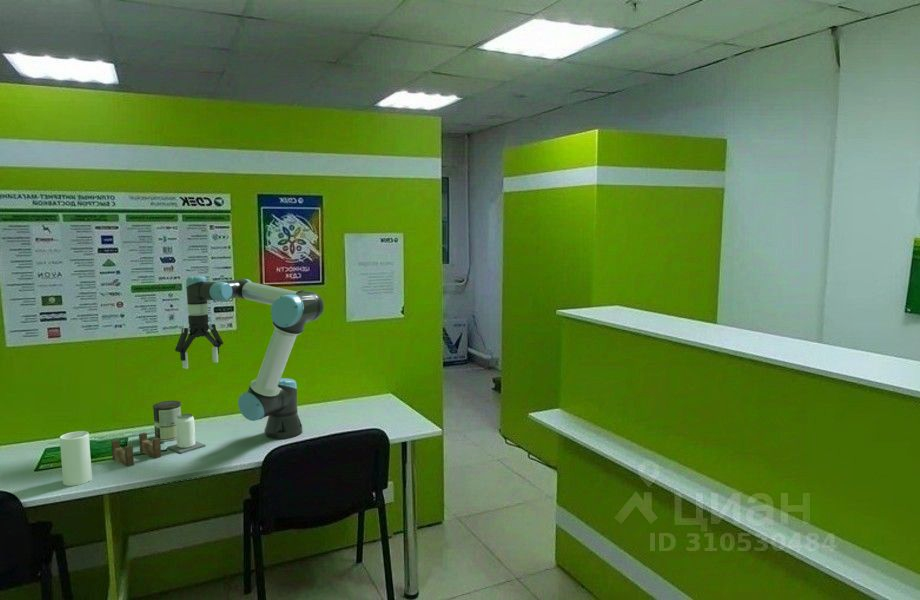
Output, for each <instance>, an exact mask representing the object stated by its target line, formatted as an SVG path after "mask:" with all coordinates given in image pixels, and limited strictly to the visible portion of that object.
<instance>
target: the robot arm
mask: <svg viewBox="0 0 920 600" xmlns="http://www.w3.org/2000/svg"><path fill="white" fill-rule="evenodd" d="M185 284H186V285H185V289H186V299H187V301H186V302H187V314H188V316H187V319H188V327H181V334H180V335H179V336H180V337H179V339H178V341H177V345H176V346H175V349H174V351H175V352H177V353H179V356H180V358H179V359H180V361H182V362H181V363H182V369H186V370H188V369H189V357H188V355H189V354H188V352H187V350H188V349H189V348H190V346H191V344H192V343H193V341H194V340H195V339H196V338H201V337H205V338H206V340H208V341H209V342H210V343H211V344H212V345H213V346H212V347H211V349H212V350H211V351H212V352H211V353H212V363H216V364H217V363H219V354H220V348H221V346H222V345H223V344H224V341H223V339H222V338H221V336H220V334H219V332H218V330H217V327H216V324H215V323H209V314H208V313H209V305H208V304H209V303H208V301H216V302H223V301H224V302H225V301H229V300H231V299H232V300H233V299H243V300H246V301H247V300H248V301H253V302H256V303H261V304H266V305H269V306H271V307H270V315H271V320H272V326H273V327H274V330H273V332H272V334H271V337H270V340H269V343H268V345H267V348H266V351H265V354H264V357H263V360H262V362H261V365H260V368H259V370H258V374H257V377H256V378H255V379H253V380H251V382H249V383H250V384H249V386H248V388H247V391H245V392H243V393H242V394H241V395H239V396H238V400H237V406H238V409H239V412H240V414H241V415H242V417H243V418H245V419H246V420H248V421H251V422H256V421H259V420H263V419H265V418H266V417H267V421H266V425H265V428H264V436H265V437H266V438H269V439H275V440H276V439H277V440H281V439H289V438H291V439H292V438H294V437H297V436H299V435H301V434H302V433H303V424H302V422H301V419H300V416H299V413H298V387H297V381H296V380H295V379H293V378H285V377H284V378H283V377H282V376H283V373H284V371H285V369H286V365H287V363H288V360H289V357H290V355H291V351H292V349H293V347H294V344H295V343H296V342H295V341H296V339H297V336H298V335H301V334H303V332H304V329H305V326H306V324H307V323H309V322H314V321H316V320H318V319H319V318H320V317H321V316H322V314H323V313H324V311H325V304H324V303H325V302H324V300H323V298H322V297H321V296H320V294H318V293H317V292H315V291H309V290H303V289H298V290H297V291H296V290H290V289H286V288H282V287H276V286H271V285H267V284H262V283H257V282H253V281H252V280H250V279H247V278H240V279H231V280H220V281H207V278H206V276H204V275H202V276H201V275H195V276H192V275H191V276H188V277H187V278H186V283H185ZM209 330H210V332H209ZM188 333H189V334H188ZM211 334H212V335H211Z"/></svg>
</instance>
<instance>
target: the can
mask: <svg viewBox="0 0 920 600" xmlns="http://www.w3.org/2000/svg"><path fill="white" fill-rule="evenodd" d="M195 427H196V426H195V418H194V414H192V413H183V414H182V413H181V415H179V416H177V420H176V430H177V439H176V444H177V446H178V447H179V448H190V447H193V446H194V445H195V441H196V432H195V431H196V428H195Z"/></svg>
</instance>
